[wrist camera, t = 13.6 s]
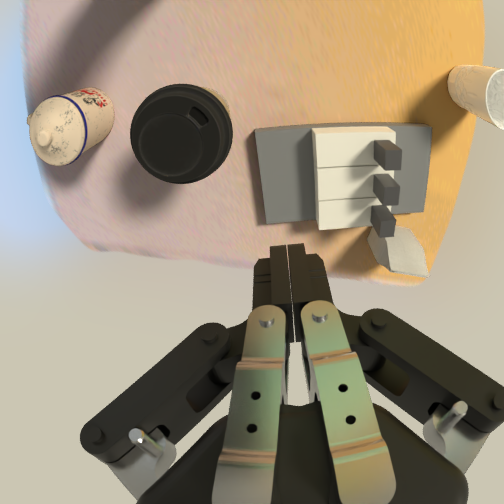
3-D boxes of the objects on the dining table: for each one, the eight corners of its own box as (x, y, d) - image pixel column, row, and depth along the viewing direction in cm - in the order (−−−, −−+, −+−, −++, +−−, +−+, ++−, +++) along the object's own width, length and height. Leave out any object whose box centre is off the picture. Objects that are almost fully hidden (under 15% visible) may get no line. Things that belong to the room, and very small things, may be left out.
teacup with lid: (122, 90, 34) (77, 106, 25) (111, 150, 39) (70, 183, 30) (55, 80, 32) (3, 95, 23) (48, 135, 37) (1, 164, 28)
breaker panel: (255, 128, 37) (253, 148, 30) (425, 123, 35) (460, 143, 28) (266, 216, 45) (266, 254, 38) (418, 205, 43) (444, 238, 35)
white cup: (435, 90, 32) (476, 104, 24) (456, 50, 28) (500, 56, 20) (469, 121, 34) (510, 142, 26) (489, 83, 29) (532, 97, 21)
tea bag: (374, 220, 45) (396, 259, 37) (409, 228, 45) (434, 266, 37) (366, 239, 47) (385, 281, 39) (401, 246, 47) (423, 286, 39)
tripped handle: (373, 173, 35) (384, 187, 32) (388, 173, 35) (400, 186, 31) (372, 191, 36) (383, 206, 33) (387, 190, 36) (398, 205, 33)
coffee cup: (252, 88, 34) (247, 105, 22) (227, 153, 40) (210, 204, 27) (181, 67, 33) (137, 74, 20) (161, 133, 38) (115, 174, 26)
